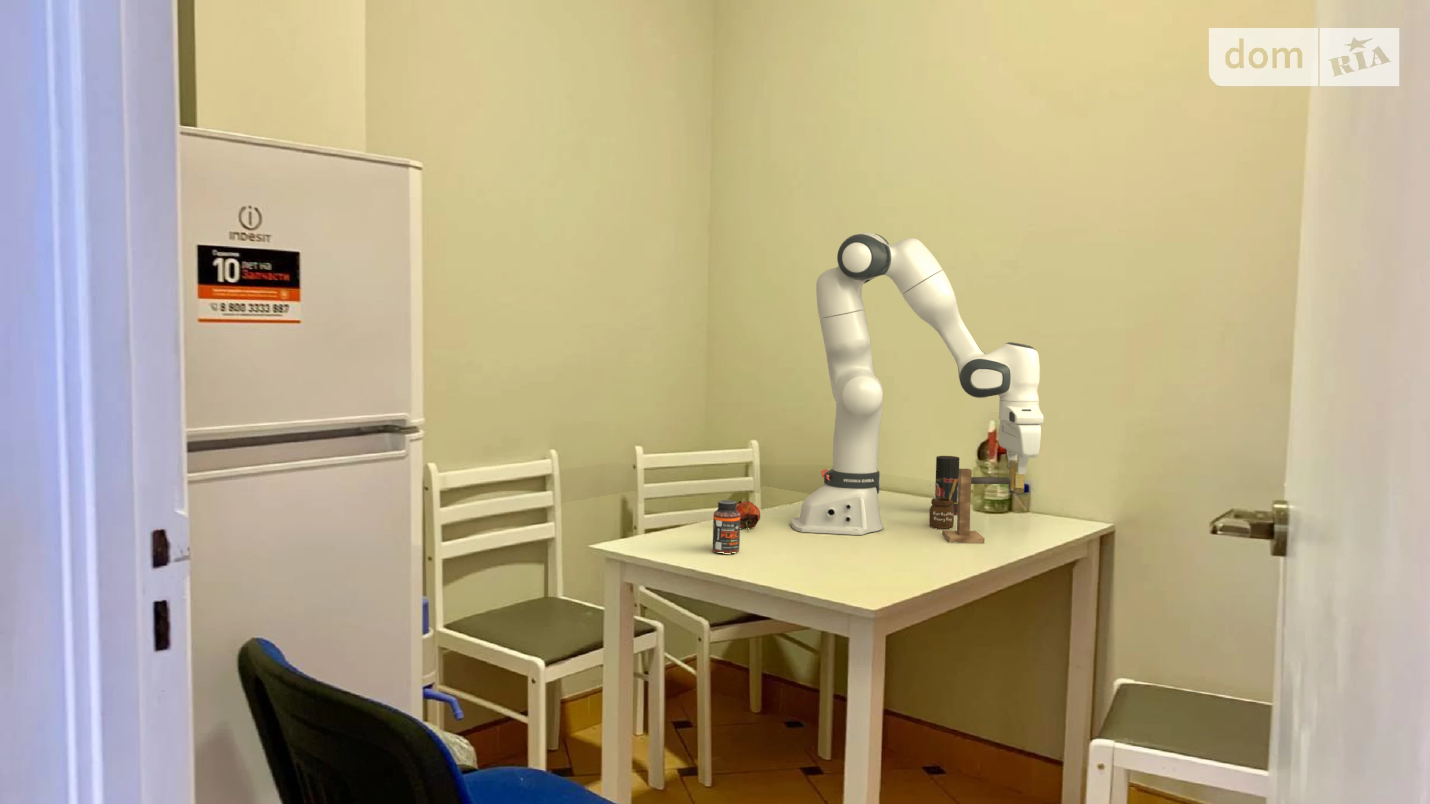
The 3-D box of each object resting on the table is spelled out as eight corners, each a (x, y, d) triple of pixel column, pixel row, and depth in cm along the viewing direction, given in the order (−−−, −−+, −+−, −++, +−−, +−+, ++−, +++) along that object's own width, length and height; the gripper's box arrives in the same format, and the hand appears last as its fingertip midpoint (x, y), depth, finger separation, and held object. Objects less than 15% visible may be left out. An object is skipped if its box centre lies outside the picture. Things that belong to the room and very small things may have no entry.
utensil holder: (926, 524, 257) (928, 477, 256) (951, 524, 257) (953, 477, 256) (931, 529, 251) (933, 481, 250) (957, 530, 251) (959, 481, 250)
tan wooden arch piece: (1015, 492, 237) (1016, 463, 237) (1008, 489, 242) (1009, 459, 242) (1023, 492, 237) (1024, 463, 237) (1017, 489, 242) (1018, 459, 242)
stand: (949, 542, 237) (952, 471, 236) (942, 535, 245) (944, 466, 243) (1012, 543, 237) (1015, 472, 236) (1002, 535, 245) (1005, 467, 244)
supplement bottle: (720, 556, 222) (721, 505, 221) (707, 550, 227) (708, 500, 226) (744, 553, 224) (745, 502, 223) (731, 547, 230) (732, 498, 229)
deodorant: (959, 516, 268) (961, 459, 267) (937, 515, 268) (938, 458, 267) (954, 511, 274) (956, 455, 272) (932, 511, 274) (934, 455, 273)
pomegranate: (763, 540, 247) (758, 509, 255) (762, 520, 242) (757, 489, 250) (732, 543, 247) (728, 512, 254) (731, 524, 242) (727, 492, 249)
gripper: (993, 408, 249) (991, 464, 250) (1018, 417, 228) (1016, 478, 229) (1019, 408, 249) (1017, 464, 250) (1046, 417, 228) (1044, 478, 229)
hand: (1016, 471), depth 239 cm, fingers closed on tan wooden arch piece, 5 cm apart
